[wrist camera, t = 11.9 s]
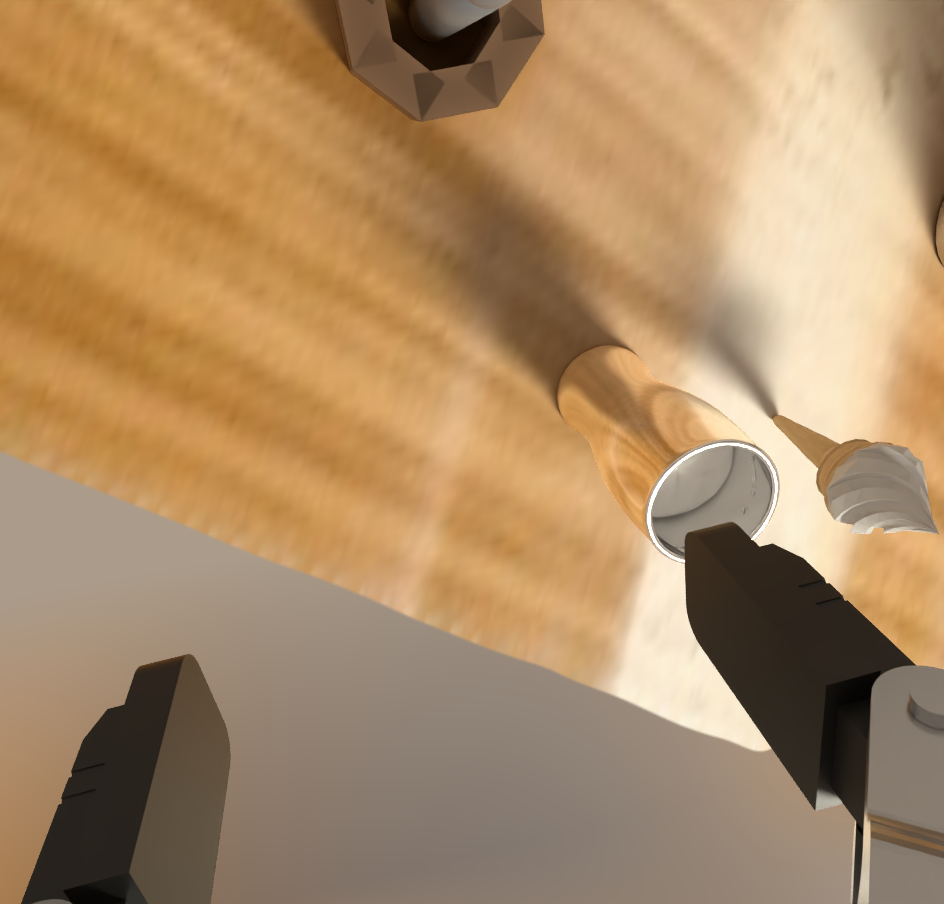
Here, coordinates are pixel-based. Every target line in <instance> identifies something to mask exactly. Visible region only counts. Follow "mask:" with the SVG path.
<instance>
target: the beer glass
mask: <svg viewBox="0 0 944 904" xmlns="http://www.w3.org/2000/svg"><path fill="white" fill-rule="evenodd" d="M557 401H558V407H559V410H560V413H561V415H562V417H563V418H564V420H565V421H566V422H567V423H568V425H569V426H571V427H572V428H573V429H574V430H576V431H578V432H579V433H581V434H583V435H584V436H585V437H586V438H587V439H588V441H589V444H590V446H591V449H592V452H593V455H594V458H595V461H596V464H597V466H598V469H599V471H600V474H601V476H602V478H603V480H604V482H605V484H606V487H607V488H608V490H609V492H610V493H611V495H612V496H613V498H614V499H615V501H616V502H617V504H618V505H619V506H620V508H621V509H622V510H623V511H624V513H625V514H626V515H627V516H628V518H629V519H630V520H631V521H632V522H633V523H634V524H635V525H636V526H637V528H638V529H639V530H640V531H641V532H642V533H643V534H644V535H645V536H646V537H647V538H648V539H649V540H650V541H651V542H652V544H653V545H654V546H655V548H656V549H657V550H658V551H659V552H660V553H662V554H663V555H664V556H666V557H668V558H669V559H671V560H674V561H676V562H680V563H684V564H685V551H684V541H685V536H686V534H687V533H688V532H691V531H695V530H699V529H703V528H707V527H711V526H715V525H719V524H723V523H727V522H734V523H736V524H737V525H738V526H740V527H741V528H742V530H743V531H744V532H745V533H746V534H747V535H748V536H749V537H750V538H751V539H752V540H754V539H755V538H756V537H757V536H758V535H759V534H760V533H761V532H762V531H763V529H764V528H765V527H766V525H767V524H768V522H769V521H770V519H771V517H772V515H773V513H774V511H775V508H776V505H777V502H778V497H779V476H778V472H777V469H776V467H775V465H774V463H773V461H772V460H771V458H770V457H769V456H768V455H767V453H766V452H764V451H763V450H762V449H761V448H759V447H758V446H757V445H756V444H755V443H754V442H753V441H752V440H751V439H750V438H749V437H748V436H747V435H746V434H745V433H744V432H743V431H742V430H741V429H740V428H739V427H738V426H737V425H736V424H735V423H734V422H733V421H732V420H730V419H729V418H728V417H727V416H726V415H725V414H723V413H722V412H721V411H720V410H718V409H717V408H715V407H714V406H712V405H711V404H710V403H708V402H707V401H705V400H704V399H702V398H700V397H698V396H696V395H694V394H692V393H690V392H688V391H685V390H683V389H680V388H678V387H675V386H673V385H670V384H667V383H665V382H662V381H659V380H657V379H654V378H653V377H652V376H651V375H650V373H649V371H648V370H647V368H646V366H645V365H644V363H643V362H642V361H641V359H640V358H639V357H638V356H636V355H635V354H634V353H633V352H631V351H629V350H627V349H625V348H622V347H619V346H612V345H606V346H599V347H595V348H592V349H590V350H588V351H586V352H584V353H582V354H581V355H579V356H578V357H577V358H575V359H574V360H573V361H572V362H571V363H570V364H569V366H568V367H567V368H566V370H565V371H564V373H563V375H562V377H561V379H560V382H559V386H558V391H557Z"/></svg>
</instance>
